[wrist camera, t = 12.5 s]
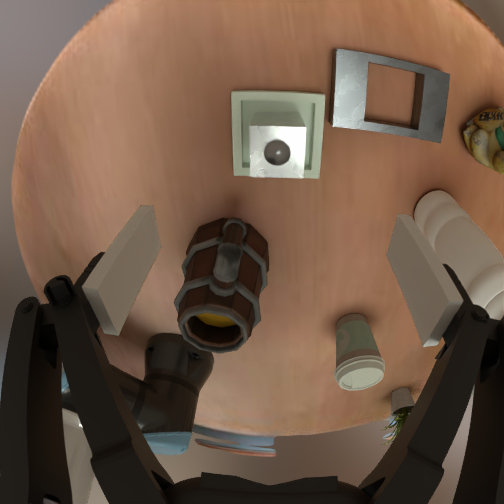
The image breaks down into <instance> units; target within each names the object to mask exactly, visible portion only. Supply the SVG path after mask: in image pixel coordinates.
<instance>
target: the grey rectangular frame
mask: <svg viewBox="0 0 504 504" xmlns="http://www.w3.org/2000/svg"><path fill="white" fill-rule="evenodd" d="M368 63H373V64H378V65H384V66H388V67H393V68H398V69H402V70H406V71H410V72H414V73H416V82H415V93H414V102H413V110H412V118H411V125H410V126H409V125H403V124H398V123H392V122H386V121H380V120H373V119H366V118H364V114H365V103H366V91H367V76H368ZM449 80H450V74H448V73H445V72H442V71H439V70H435V69H432V68H429V67H425V66H422V65H418V64H414V63H410V62H407V61H402V60H398V59H394V58H389V57H385V56H380V55H375V54H369V53H364V52H358V51H351V50H344V49H333V56H332V82H331V101H330V116H329V123H330V124H331V125H332V126H333V127H342V128H352V129H360V130H368V131H375V132H382V133H389V134H395V135H401V136H407V137H412V138H418V139H423V140H428V141H432V142H437V143H441V138H442V133H443V127H444V121H445V114H446V107H447V99H448V90H449Z"/></svg>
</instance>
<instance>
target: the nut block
mask: <svg viewBox="0 0 504 504" xmlns="http://www.w3.org/2000/svg"><path fill="white" fill-rule="evenodd" d="M249 140H250V177H273V178H302V179H303V177H304V160H305V141H306V126H305V124H304V122H303V119H302V117H301V115H300V113H289V112H255V113H254V116H253V118H252V120H251V123H250V125H249Z"/></svg>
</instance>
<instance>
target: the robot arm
mask: <svg viewBox="0 0 504 504" xmlns="http://www.w3.org/2000/svg"><path fill="white" fill-rule="evenodd" d="M160 249H161V243H160V238H159V233H158V228H157V223H156V217H155V212H154V206H153V205H145V206H140V207H139V208H138V210H137V211H136V212H135V213H134V215H133V216H132V217H131V219H130V220H129V221H128V222H127V224H126V225H125V226H124V228H123V229H122V230H121V232H120V233H119V234H118V236H117V237H116V238H115V240H114V241H113V242H112V244H111V245H110V247H109V248H108V249H107V251H106V252H100V253H99V254H98V255H96V256H95V257H94V258H93V259H92V260H91V261H90V263H89V264H88V267H86V268H85V270H84V272H83V273H82V274H81V276H80V277H79V279H78V280H77V281H76V283H75V284H74V286H73V283H72V281H71V279H70V278H69V277H68V276H66V275H60V276H57V277H54V278H53V279H51V280H50V281H49V282H48V283H47V284H46V286H45V287H44V293H45V295H46V297H47V299H48V301H49V303H48V304H42V305H41V304H40V303H39V301H38V299H37V298H36V297H28V298H25V299H24V300H22V301H21V302H20V303H19V304H18V306H17V308H16V311H15V315H14V319H13V323H12V328H11V333H10V338H9V342H8V348H7V353H6V359H5V366H4V373H3V381H2V390H1V401H0V504H87V503H88V499H89V495H90V490H91V487H92V483H93V479H94V476H96V478H97V480H98V482H99V485H100V486H101V489H102V491H103V493H104V495H105V497H106V499H107V501H108V502H109V504H428V502H429V500H430V499H431V497H432V495H433V494H434V492H435V490H436V488H437V487H438V485H439V483H440V481H441V479H442V477H443V474H444V469H443V468H442V463H443V461H444V459H445V457H446V455H447V453H448V450H449V448H450V446H451V444H452V442H453V440H454V438H455V435H456V433H457V431H458V428H459V426H460V423H461V421H462V418H463V415H464V413H465V410H466V408H467V405H468V402H469V399H470V397H471V394H472V391H473V388H474V397H473V407H472V415H471V423H470V429H469V435H468V441H467V446H466V452H465V456H464V461H463V465H462V470H461V474H460V478H459V481H458V485H457V489H456V493H455V496H454V499H453V503H452V504H504V316H503V317H502V319H501V320H496V319H492V318H490V316H489V314H488V313H487V311H486V310H485V309H484V308H482V307H481V306H479V305H476V304H473V303H472V301H471V299H470V297H469V295H468V294H467V292H466V290H465V288H464V287H463V285H462V283H461V282H460V280H459V279H458V277H457V275H456V273H455V272H454V270H453V269H452V268H451V267H449V266H448V265H447V264H442V263H441V261H440V259H439V258H438V256H437V255H436V253H435V251H434V250H433V248H432V247H431V245H430V244H429V242H428V241H427V239H426V238H425V236H424V235H423V233H422V232H421V230H420V229H419V227H418V226H417V225H416V223H415V222H414V220H413V219H412V217H411V216H410V215H404V214H398V215H397V219H396V223H395V227H394V230H393V234H392V238H391V241H390V245H389V248H388V252H387V255H386V256H387V258H388V260H389V262H390V264H391V267H392V269H393V271H394V274H395V276H396V278H397V280H398V283H399V285H400V288H401V290H402V292H403V295H404V297H405V300H406V302H407V305H408V307H409V310H410V312H411V315H412V318H413V320H414V323H415V326H416V328H417V331H418V334H419V337H420V339H421V342H422V345H423V347H426V346H435V345H437V344H438V343H439V341H440V340H441V338H442V337H443V338H444V341H445V344H444V346H443V347H442V349H441V350H440V352H439V353H438V354H437V356H436V357H435V359H437V361H436V363H435V365H434V367H433V370H432V372H431V374H430V376H429V378H428V380H427V382H426V384H425V386H424V388H423V390H422V392H421V394H420V396H419V398H418V400H417V402H416V404H415V405H414V407H413V409H412V411H411V413H410V414H409V416H408V418H407V420H406V421H405V423H404V425H403V426H402V428H401V430H400V431H399V433H398V435H397V436H396V438H395V439H394V441H393V443H392V444H391V446H390V448H389V449H388V450H387V452H386V453H385V455H384V456H383V458H382V459H381V461H380V462H379V463H378V465H377V466H376V467H375V469H374V470H373V471H372V472H371V473H370V474H369V475H368V476H367V477H366V478H365V479H364V480H363V482H362V483H361V484H360V485H359V486H358V488H357V487H356V486H353V485H351V484H348V483H345V482H341V481H338V478H337V476H329V477H311V478H302V479H298V480H294V481H290V482H286V483H281V484H277V485H264V484H261V483H257V482H253V481H250V480H247V479H243V478H240V477H237V476H231V475H221V474H213V473H205V472H202V473H201V477H196V478H191V479H187V480H183V481H180V482H178V483H176V484H174V482H173V480H172V479H171V477H170V476H169V475H168V473H167V472H166V471H165V469H164V468H163V467H162V466H161V464H160V463H159V461H158V460H157V458H156V457H155V455H154V453H156V454H163V455H178V454H182V453H184V452H185V451H186V450H187V449H188V446H189V442H190V438H191V436H192V429H193V424H194V418H195V413H196V407H197V402H198V397H199V392H200V390H201V388H202V387H203V385H204V384H205V382H206V380H207V379H208V377H209V376H210V374H211V372H212V369H213V363H214V358H213V356H212V354H211V352H209V351H204V350H200V349H198V348H197V347H195V346H194V345H192V344H191V343H189V342H188V341H186V340H185V339H184V338H183V336H181V335H176V334H159V335H156V336H153V337H152V338H150V339H149V341H148V343H147V345H146V348H145V353H144V354H145V377H144V380H143V381H142V380H140V379H138V378H136V377H134V376H132V375H130V374H128V373H126V372H124V371H122V370H120V369H118V368H117V367H115V366H113V365H111V364H109V361H108V359H107V356H106V354H105V351H104V348H103V346H102V343H101V340H100V338H99V335H98V333H97V332H96V331H97V329H98V327H99V325H100V326H101V328H102V330H103V332H104V333H105V334H111V335H117V336H119V334H120V332H121V330H122V327H123V325H124V323H125V321H126V319H127V316H128V314H129V312H130V310H131V308H132V306H133V304H134V301H135V299H136V297H137V295H138V293H139V291H140V289H141V287H142V285H143V283H144V281H145V279H146V277H147V275H148V273H149V271H150V269H151V267H152V265H153V263H154V261H155V259H156V257H157V255H158V253H159V251H160ZM62 362H63V366H64V372H63V374H62Z"/></svg>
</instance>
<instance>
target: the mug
mask: <svg viewBox="0 0 504 504" xmlns="http://www.w3.org/2000/svg"><path fill="white" fill-rule="evenodd" d="M186 255H187V257H186V259H185V260H184V262H183V264H182V270H183V273H184V277H185V280H184V285H183V286H182V288H181V290H180V291H179V293H178V295H177V297H176V298H175V300H174V304H175V307H176V310H177V312H178V319H177V321H178V323H179V325H178V326H179V328H180V331H181V333H182V335H183V338H184V339H185V340H186V341H188V342H189V343H191V344H192V345H194V346H195V347H197V348H198V349H200V350H204V351H209V352H214V353H224V352H230V351H236V350H238V349H239V348H240V347H241V346H242V345H243V344H244V343H245V342H246V341H247V340H248V338H249V337H250V336H251V332H252V329H253V328H254V327H255V326H256V325H257V324H258V323H259V322H260V321H261V315H260V306H259V295H260V293H261V292H262V291H263V289H264V288H265V287H266V286H267V272H268V271H269V257H268V244H267V241H266V240H265V239H264V238H263V237H262V236H261V235H260V234H259V233H258V232H257V231H256V230H255V229H254V228H253V227H252V226H251V225H250V224H246V223H244V222H243V221H242V220H241V219H239V218H235V217H234V218H231V219H229V220H228V219H224V218H222V219H220V220H217V221H214V222H211V223H209V224H206V225H203V226H201V227H199V228H198V230H197V232H196V234H195V235H194V237H193V239H192V241H191V242H190V244H189V246H188V249H187V251H186Z"/></svg>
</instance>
